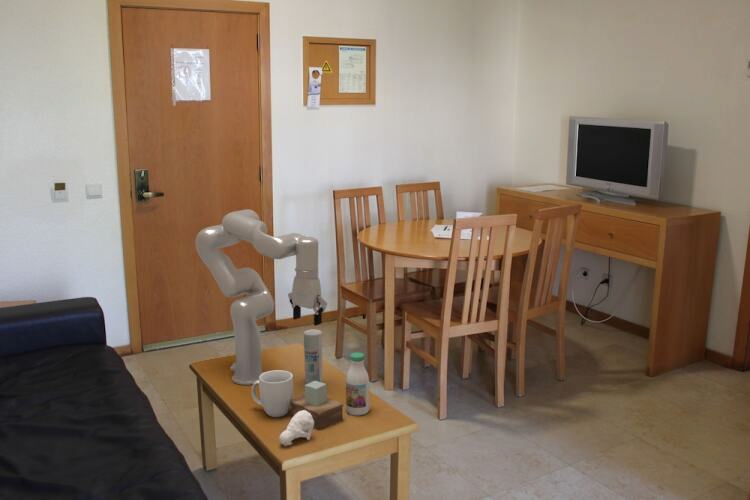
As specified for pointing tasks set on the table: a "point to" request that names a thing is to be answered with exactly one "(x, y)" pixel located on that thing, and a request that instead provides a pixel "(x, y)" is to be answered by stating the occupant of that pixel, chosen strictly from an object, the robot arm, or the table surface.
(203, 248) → the robot arm
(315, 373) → the spray can
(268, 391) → the mug
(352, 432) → the table surface
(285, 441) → the white animal figurine
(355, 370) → the milk bottle
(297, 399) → the walnut box
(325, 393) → the block
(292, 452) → the table surface
